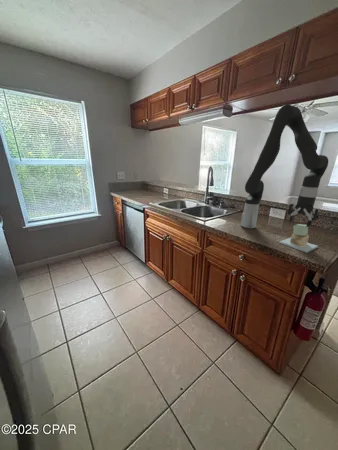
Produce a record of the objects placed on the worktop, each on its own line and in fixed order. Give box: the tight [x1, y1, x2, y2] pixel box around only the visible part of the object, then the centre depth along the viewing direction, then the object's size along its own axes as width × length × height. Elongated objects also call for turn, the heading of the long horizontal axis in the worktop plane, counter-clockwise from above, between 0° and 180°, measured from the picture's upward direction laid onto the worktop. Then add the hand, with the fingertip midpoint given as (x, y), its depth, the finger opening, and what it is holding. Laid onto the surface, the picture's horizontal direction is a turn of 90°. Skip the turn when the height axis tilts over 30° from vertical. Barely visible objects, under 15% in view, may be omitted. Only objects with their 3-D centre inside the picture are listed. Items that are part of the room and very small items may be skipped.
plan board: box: [279, 236, 319, 253], centre depth 104 cm, size 14×12×1 cm
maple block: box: [290, 233, 310, 247], centre depth 103 cm, size 6×6×5 cm
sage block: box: [292, 223, 309, 236], centre depth 102 cm, size 5×5×5 cm
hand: (299, 224), depth 103 cm, fingers open, 8 cm apart
